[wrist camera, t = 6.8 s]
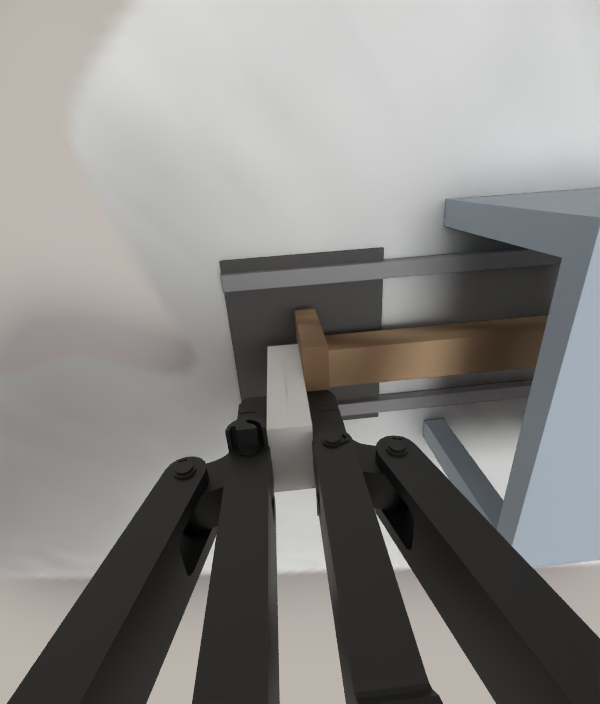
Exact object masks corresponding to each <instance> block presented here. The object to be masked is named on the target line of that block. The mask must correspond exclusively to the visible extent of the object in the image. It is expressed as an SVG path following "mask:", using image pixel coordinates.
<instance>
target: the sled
mask: <svg viewBox="0 0 600 704" xmlns="http://www.w3.org/2000/svg"><path fill="white" fill-rule="evenodd" d="M294 312H295V325H296V338H297V344H298V347H299V353H300V358H301V364H302V370H303V375H304V381H305V387H306V392H307V391H318V390H329V391H330V387H337V386H347V385H357V384H367V383H377V382H387V381H397V380H408V379H418V378H428V377H438V376H448V375H458V374H468V373H478V372H489V371H499V370H509V369H519V368H529V367H536V365H537V360H538V356H539V352H540V348H541V344H542V340H543V336H544V331H545V327H546V323H547V319H548V315H542V316H532V317H521V318H510V319H499V320H488V321H477V322H466V323H456V324H445V325H434V326H423V327H412V328H401V329H390V330H379V331H369V332H358V333H347V334H336V335H325V336H324V333H323V330H322V327H321V325H320V322H319V319H318V317H317V314H316V311H315V308H314V309H303V310H294Z"/></svg>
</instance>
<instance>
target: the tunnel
mask: <svg viewBox="0 0 600 704" xmlns="http://www.w3.org/2000/svg"><path fill="white" fill-rule="evenodd" d="M444 226H446V227H450V228H454V229H457V230H461V231H465V232H468V233H472V234H476V235H479V236H483V237H487V238H491V239H494V240H498V241H502V242H505V243H509V244H513V245H516V246H520V247H524V248H518V249H505V250H493V251H481V252H469V253H457V254H445V255H433V256H421V257H409V258H397V259H385V260H383V261H372V262H360V263H348V264H336V265H323V266H311V267H299V268H287V269H275V270H263V271H251V272H239V273H227V274H221V282H222V288H223V292H232V291H243V290H255V289H267V288H279V287H290V286H302V285H314V284H325V283H337V282H349V281H361V280H372V279H384V278H396V277H407V276H419V275H431V274H443V273H454V272H466V271H478V270H489V269H501V268H513V267H525V266H536V265H548V264H560V263H561V265H560V269H559V273H558V278H557V282H556V286H555V290H554V294H553V298H552V302H551V307H550V311H549V315H548V319H547V323H546V327H545V331H544V336H543V340H542V344H541V348H540V352H539V356H538V360H537V365H536V369H535V373H534V377H533V380H525V381H515V382H505V383H495V384H485V385H475V386H465V387H455V388H445V389H435V390H425V391H415V392H405V393H395V394H385V395H379V397H374V398H364V399H354V400H344V401H337V404H338V407H339V410H340V413H341V416H348V415H357V414H367V413H377V412H387V411H396V410H406V409H416V408H426V407H435V406H445V405H455V404H465V403H474V402H484V401H494V400H504V399H513V398H523V397H529V398H528V402H527V406H526V410H525V414H524V418H523V423H522V427H521V431H520V435H519V439H518V443H517V448H516V452H515V456H514V460H513V464H512V468H511V472H510V477H509V481H508V485H507V489H506V493H505V497H504V501H503V500H502V498H501V497H500V495H499V494H498V493H497V491H496V490H495V489H494V487H493V486H492V485H491V483H490V482H489V480H488V479H487V478H486V476H485V475H484V474H483V472H482V471H481V470H480V468H479V467H478V465H477V464H476V463H475V461H474V460H473V459H472V457H471V456H470V455H469V453H468V452H467V450H466V449H465V448H464V446H463V445H462V444H461V442H460V441H459V440H458V438H457V437H456V435H455V434H454V433H453V431H452V430H451V429H450V427H449V426H448V425H447V423H446V422H445V420H444V419H443V418H442V419H433V420H424V428H423V437H424V439H425V440H426V442H427V444H428V445H429V447H430V449H431V450H432V452H433V454H434V455H435V457H436V459H437V460H438V462H439V464H440V465H441V467H442V468H443V470H444V472H445V473H446V475H447V477H448V478H449V480H450V481H451V483H452V484H453V485H454V486H455V487H456V488H457V489H458V490H459V491H460V492H461V493H462V494H463V495H464V496H465V497H466V498H467V499H468V500H469V501H470V503H471V504H472V505H473V506H474V507H475V508H476V509H477V510H478V511H479V512H480V513H481V514H482V515H483V516H484V517H485V518H486V519H487V520H488V521H489V523H490V524H491V525H492V526H493V527H494V528H495V529H496V530H497V531H498V532H499V533H500V534H501V535H502V536H503V537H504V538H505V539H506V540H507V541H508V542H509V544H510V545H511V546H512V547H513V548H514V549H515V550H516V551H517V552H518V553H519V554H520V555H521V556H522V557H523V558H524V559H525V560H526V561H527V562H528V564H529V565H530V566H531V567H532V568H538V567H546V566H554V565H562V564H570V563H578V562H586V561H594V560H600V188H589V189H576V190H563V191H549V192H536V193H523V194H510V195H497V196H483V197H470V198H457V199H446V207H445V217H444Z"/></svg>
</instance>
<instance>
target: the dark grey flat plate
mask: <svg viewBox="0 0 600 704" xmlns="http://www.w3.org/2000/svg"><path fill="white" fill-rule="evenodd" d="M383 257H384V248H383V247H382V248H370V249H358V250H346V251H333V252H321V253H309V254H296V255H284V256H272V257H259V258H247V259H235V260H223V261H220V268H221V274H227V273H239V272H251V271H263V270H275V269H287V268H299V267H311V266H323V265H336V264H348V263H360V262H372V261H383ZM382 287H383V279H372V280H361V281H349V282H337V283H325V284H314V285H302V286H290V287H279V288H267V289H255V290H243V291H232V292H224V293H225V299H226V306H227V312H228V318H229V325H230V331H231V337H232V344H233V350H234V356H235V363H236V369H237V375H238V382H239V388H240V394H241V401H243V400H244V399H245V398H250V397H261V396H267V350H268V346H280V345H291V344H297V338H296V325H295V312H294V310H303V309H314V308H315V311H316V314H317V317H318V319H319V322H320V325H321V327H322V330H323V333H324V336H325V335H336V334H347V333H358V332H369V331H379V330H381V317H382ZM330 391H331V392H332V393H333V394H334V395H335V397H336V400H337V401H344V400H354V399H364V398H374V397H379V382H377V383H367V384H357V385H347V386H337V387H330ZM341 417H342V420H350V419H359V418H369V417H378V412H377V413H367V414H357V415H348V416H341Z"/></svg>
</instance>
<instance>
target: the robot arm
mask: <svg viewBox="0 0 600 704" xmlns="http://www.w3.org/2000/svg"><path fill="white" fill-rule="evenodd" d="M225 433H226V438H227V444H228V449H229V453H228V454H227V455H226V456H224V457H223V458H221V459H218V460H216V461H213V462H210V463H207V464H205V461H203V460H202V459H201V458H198V457H185V458H182V459H179V460H177V461H175V462H173V463H172V464H171V465H170V466H169V467H168V468H167V469H166V470H165V471H164V473H163V474H162V476H161V477H160V479H159V480H158V482H157V483H156V485H155V486H154V488H153V489H152V491H151V492H150V493H149V495H148V496H147V498H146V499H145V501H144V502H143V504H142V505H141V507H140V508H139V510H138V511H137V513H136V514H135V516H134V517H133V519H132V520H131V522H130V523H129V524H128V526H127V527H126V529H125V530H124V532H123V533H122V535H121V536H120V538H119V539H118V541H117V542H116V544H115V545H114V547H113V548H112V550H111V551H110V552H109V554H108V555H107V557H106V558H105V560H104V561H103V563H102V564H101V566H100V567H99V569H98V570H97V572H96V573H95V575H94V576H93V578H92V579H91V580H90V582H89V584H88V585H87V586H86V588H85V589H84V591H83V592H82V594H81V595H80V597H79V598H78V600H77V601H76V603H75V604H74V606H73V607H72V608H71V610H70V612H69V613H68V614H67V616H66V617H65V619H64V620H63V622H62V623H61V625H60V626H59V628H58V629H57V631H56V632H55V634H54V635H53V637H52V638H51V640H50V641H49V642H48V644H47V645H46V647H45V649H44V650H43V651H42V653H41V654H40V656H39V657H38V659H37V660H36V662H35V663H34V664H33V666H32V667H31V669H30V670H29V672H28V674H27V675H26V676H25V678H24V679H23V681H22V682H21V684H20V685H19V687H18V688H17V690H16V691H15V693H14V694H13V695H12V697H11V698H10V700H9V701H8V703H7V704H146V703H147V700H148V698H149V695H150V693H151V691H152V688H153V686H154V684H155V681H156V679H157V676H158V674H159V672H160V669H161V667H162V664H163V662H164V659H165V657H166V655H167V652H168V650H169V648H170V645H171V643H172V640H173V638H174V635H175V633H176V630H177V628H178V626H179V623H180V621H181V619H182V616H183V614H184V611H185V609H186V607H187V604H188V602H189V599H190V597H191V594H192V592H193V590H194V587H195V585H196V583H197V580H198V578H199V575H200V573H201V571H202V568H203V566H204V563H205V561H206V559H207V556H208V554H209V551H210V549H211V547H212V544H213V542H214V539H215V537H216V543H215V550H214V557H213V563H212V570H211V577H210V584H209V591H208V598H207V605H206V611H205V619H204V625H203V632H202V639H201V646H200V652H199V659H198V667H197V673H196V680H195V687H194V694H193V700H192V704H279V703H280V701H279V653H278V605H277V557H276V510H275V497H274V492H280V491H289V490H299V489H309V488H316V497H317V514H318V515H319V519H320V526H321V533H322V540H323V547H324V554H325V561H326V568H327V575H328V581H329V589H330V596H331V602H332V609H333V616H334V623H335V630H336V637H337V644H338V651H339V658H340V665H341V671H342V679H343V686H344V693H345V699H346V704H443V703H442V701H441V699H440V697H439V695H438V694H437V693H436V692H435V691H434V690H433V689H432V688H431V686H430V684H429V681H428V678H427V675H426V673H425V669H424V666H423V663H422V660H421V656H420V653H419V650H418V647H417V644H416V641H415V637H414V634H413V631H412V628H411V625H410V621H409V618H408V616H407V612H406V609H405V606H404V603H403V599H402V596H401V593H400V590H399V587H398V583H397V580H396V577H395V574H394V571H393V567H392V564H391V561H390V558H389V555H388V551H387V548H386V545H385V542H384V539H383V536H382V532H381V529H380V526H379V523H378V520H377V517H376V514H377V515H378V517H379V519H380V520H381V522H382V523H383V525H384V526H385V528H386V530H387V531H388V533H389V534H390V536H391V538H392V539H393V541H394V542H395V544H396V545H397V547H398V549H399V550H400V552H401V553H402V555H403V557H404V558H405V560H406V561H407V563H408V564H409V566H410V568H411V569H412V571H413V572H414V574H415V575H416V577H417V579H418V580H419V582H420V583H421V585H422V587H423V588H424V590H425V591H426V593H427V594H428V596H429V598H430V599H431V600H432V602H433V604H434V606H435V607H436V609H437V610H438V612H439V614H440V615H441V617H442V618H443V620H444V621H445V623H446V625H447V626H448V628H449V629H450V631H451V633H452V634H453V636H454V637H455V639H456V640H457V642H458V644H459V645H460V647H461V648H462V650H463V651H464V653H465V655H466V656H467V658H468V659H469V661H470V663H471V664H472V666H473V667H474V669H475V671H476V672H477V674H478V675H479V677H480V679H481V680H482V682H483V683H484V685H485V686H486V688H487V690H488V691H489V693H490V694H491V696H492V698H493V699H494V701H495V702H496V704H600V638H599V637H598V636H597V635H596V634H595V633H594V632H593V631H592V630H591V629H590V628H589V627H588V626H587V625H586V623H585V622H584V621H582V619H581V618H580V617H579V616H578V615H577V614H576V613H575V612H574V611H573V610H572V609H571V608H570V607H569V606H568V605H567V603H566V602H565V601H564V600H563V599H562V598H561V597H560V596H559V595H558V594H557V593H556V592H555V591H554V590H553V589H552V588H551V587H550V586H549V585H548V584H547V582H546V581H545V580H544V579H543V578H542V577H541V576H540V575H539V574H538V573H537V572H536V571H535V570H534V569H533V568H532V567H531V566H530V565H529V564H528V562H527V561H526V560H525V559H524V558H523V557H522V556H521V555H520V554H519V553H518V552H517V551H516V550H515V549H514V548H513V547H512V546H511V545H510V544H509V542H508V541H507V540H506V539H505V538H504V537H503V536H502V535H501V534H500V533H499V532H498V531H497V530H496V529H495V528H494V527H493V526H492V525H491V524H490V523H489V521H488V520H487V519H486V518H485V517H484V516H483V515H482V514H481V513H480V512H479V511H478V510H477V509H476V508H475V507H474V506H473V505H472V504H471V503H470V501H469V500H468V499H467V498H466V497H465V496H464V495H463V494H462V493H461V492H460V491H459V490H458V489H457V488H456V487H455V486H454V485H453V484H452V483H451V481H450V480H449V479H448V478H447V477H446V476H445V475H444V474H443V473H442V472H441V471H440V470H439V469H438V468H437V467H436V466H435V465H434V464H433V463H432V462H431V460H430V459H429V458H428V457H427V456H426V455H425V454H424V453H423V452H422V451H421V450H420V449H419V448H418V447H417V446H416V445H415V444H414V443H413V442H412V441H410V440H409V439H407V438H404V437H401V436H387V437H384V438H382V439H380V440H379V441H378V442H377V444H376V446H372V445H365V444H361V443H358V442H356V441H354V440H352V438H351V436H350V435H349V434H348V433H346V430H345V427H344V423H343V420H342V417H341V413H340V410H339V407H338V404H337V400H336V397H335V395H334V394H333V393H332V392H331V391H329V390H318V391H307V392H306V387H305V381H304V375H303V370H302V364H301V358H300V353H299V347H298V344H291V345H280V346H268V350H267V396H261V397H250V398H245V399H244V400H243V401H242V402H241V404H240V405H239V411H238V418H237V420H236V421H234V422H232V423H231V424H230V425H229V426H228V427H227V429H226V431H225ZM374 509H375V510H374ZM375 512H376V513H375ZM216 535H217V536H216Z"/></svg>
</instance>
